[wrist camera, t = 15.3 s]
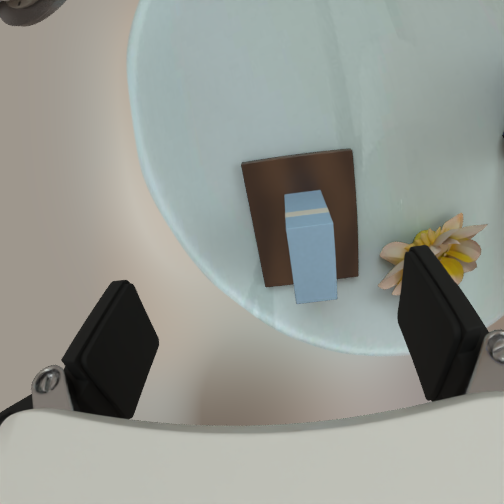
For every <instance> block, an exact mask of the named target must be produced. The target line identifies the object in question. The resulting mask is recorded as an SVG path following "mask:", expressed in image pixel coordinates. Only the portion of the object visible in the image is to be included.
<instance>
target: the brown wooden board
mask: <svg viewBox="0 0 504 504" xmlns="http://www.w3.org/2000/svg"><path fill="white" fill-rule="evenodd" d="M241 167H242V172H243V177H244V182H245V186H246V191H247V196H248V201H249V206H250V211H251V216H252V221H253V226H254V231H255V237H256V242H257V247H258V252H259V257H260V262H261V267H262V272H263V277H264V282H265V287H273V286H282V285H291V284H294V283H293V275H292V268H291V261H290V254H289V247H288V240H287V233H286V220H285V198H284V195H285V194H292V193H300V192H308V191H316V190H321V193H322V195H323V198H324V200H325V203H326V206H327V208H328V210H329V213H330V216H331V219H332V221H333V227H334V240H335V257H336V276H337V279H341V278H348V277H356V276H358V227H357V205H356V189H355V176H354V164H353V153H352V150H351V149H339V150H330V151H320V152H312V153H303V154H296V155H288V156H281V157H274V158H267V159H260V160H254V161H248V162H242V164H241Z"/></svg>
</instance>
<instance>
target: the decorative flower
mask: <svg viewBox="0 0 504 504" xmlns="http://www.w3.org/2000/svg"><path fill="white" fill-rule="evenodd" d="M462 225H463V214H462V213H460V214H458V215H457V216H455V217H453V218H452V219H450V220H448V221H447V222H445V224H444V225H443V227H442V230H441V226H440V227H439V228H438V229H437V231H436V232H435V231H432V230H431V229H430V228H429V230H424V231H421V232H419V233H418V234H417V235H416V237H415V239H414V241H413V243H412V244H410V245H409V244H406V243H402V242H392V243H389V244H387V245H386V246H385V247H383V249H382V251H381V253H380V257H381V258H383V259H385V260H387V261H388V262H391V263H392V264H394V265H396V266H395V267H394V268H393V269H392V270H391V271H390V272H389V273H388V274H387V275H386V276H385V278H384V279H383V280H382V281H381V282H380V283H379V285H378V286H379V287H380V288H382V289H389V288H391V287H393V286H394V285H396V284H397V285H396V286H395V288H394V290H393V292H392V295H400V293H401V284H402V275H403V265H404V255H405V252H409V249H410V247H413V246H421V245H427V246H428V247H429V248H430V249H431V251H432V252H433V253H434V254H435V256H436V257H437V258H438V260H439V261H440V262H441V264H442V265H443V266H444V268H445V269H446V270H447V272H448V273H449V275H450V276H451V277H452V279H453V280H454V281H455V282H456V283H457V285H458V284H459V283H460V282H461V281H462V279H463V273H466V272H469V271H472V270H474V269H475V268H476V267H477V264H476V262H475V261H476V260H477V259H478V257H479V256H480V255H481V248H480V245H479V244H478V243H477V242H475V241H473V240H471V238H472V237H474V236H475V235H476V234H477V233H478V232H480V231H482V230H483V229H484V228H485V227H486V226H487V225H488V224H485V225H473V226H467V227H463V228H462Z"/></svg>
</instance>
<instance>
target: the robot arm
mask: <svg viewBox="0 0 504 504" xmlns="http://www.w3.org/2000/svg"><path fill="white" fill-rule="evenodd" d="M1 1H6V3H7V4H8V5H9V6H10V7H12V8H16V9H23V8H26V7H29V6H30V5H32V4H34V3H35V2H37V1H38V0H1ZM398 323H399V326H400V329H401V331H402V334H403V336H404V339H405V341H406V344H407V347H408V349H409V352H410V355H411V357H412V360H413V363H414V365H415V368H416V371H417V374H418V376H419V380H420V382H421V385H422V388H423V391H424V394H425V397H426V399H427V400H431V401H432V402H429V403H425V404H421V405H416V406H412V407H407V408H402V409H397V410H392V411H387V412H381V413H375V414H369V415H363V416H357V417H350V418H343V419H336V420H328V421H318V422H307V423H297V424H296V423H295V424H282V425H281V424H280V425H258V426H208V425H185V424H169V423H158V422H147V421H138V420H130V418H132V417H133V415H134V413H135V410H136V407H137V404H138V401H139V398H140V395H141V392H142V390H143V387H144V384H145V382H146V379H147V376H148V373H149V371H150V368H151V365H152V363H153V360H154V357H155V355H156V352H157V349H158V346H159V339H158V336H157V334H156V332H155V330H154V328H153V326H152V324H151V322H150V320H149V317H148V315H147V313H146V311H145V309H144V307H143V305H142V302H141V300H140V298H139V296H138V293H137V291H136V289H135V287H134V285H133V284H130V282H129V281H127V280H121V281H113V282H112V283H111V284H110V285H109V286H108V288H107V289H106V291H105V292H104V294H103V295H102V297H101V298H100V300H99V301H98V303H97V304H96V306H95V307H94V309H93V310H92V312H91V313H90V315H89V316H88V318H87V319H86V321H85V323H84V324H83V326H82V327H81V329H80V331H79V332H78V334H77V335H76V337H75V338H74V340H73V342H72V343H71V345H70V346H69V348H68V350H67V351H66V353H65V355H64V356H63V358H62V362H63V363H64V365H65V368H64V370H63V369H62V368H61V367H60V366H57V365H52V366H48V367H46V368H44V369H43V370H41V371H40V372H39V373H38V374H37V375H36V376H35V378H34V380H33V382H32V388H31V390H32V394H31V395H29V396H27V397H26V398H24V399H22V400H21V401H19V402H17V403H15V404H14V405H12V406H10V407H9V408H7V409H5V410H4V411H2V412H1V413H0V504H504V330H494V331H491V332H488V330H487V328H486V327H485V325H484V324H483V322H482V320H481V319H480V317H479V316H478V314H477V313H476V311H475V310H474V308H473V307H472V305H471V304H470V302H469V301H468V299H467V298H466V296H465V295H464V293H463V292H462V290H461V289H460V287H459V286H458V285H457V283H456V282H455V281H454V280H453V279H452V277H451V276H450V275H449V273H448V272H447V270H446V269H445V268H444V266H443V265H442V264H441V262H440V261H439V260H438V258H437V257H436V256H435V254H434V253H433V252H432V251H431V249H430V248H429V247H428V246H427V245H421V246H413V247H410V249H409V252H405V255H404V265H403V275H402V284H401V293H400V301H399V308H398Z"/></svg>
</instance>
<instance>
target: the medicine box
mask: <svg viewBox="0 0 504 504" xmlns="http://www.w3.org/2000/svg"><path fill="white" fill-rule="evenodd" d="M284 198H285V220H286V233H287V240H288V247H289V254H290V261H291V268H292V275H293V283H294V290H295V298H296V304H301V303H310V302H318V301H327V300H335V299H337V276H336V257H335V240H334V227H333V221H332V219H331V216H330V213H329V210H328V208H327V206H326V203H325V200H324V198H323V195H322V193H321V190H316V191H308V192H300V193H292V194H285V195H284Z"/></svg>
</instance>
